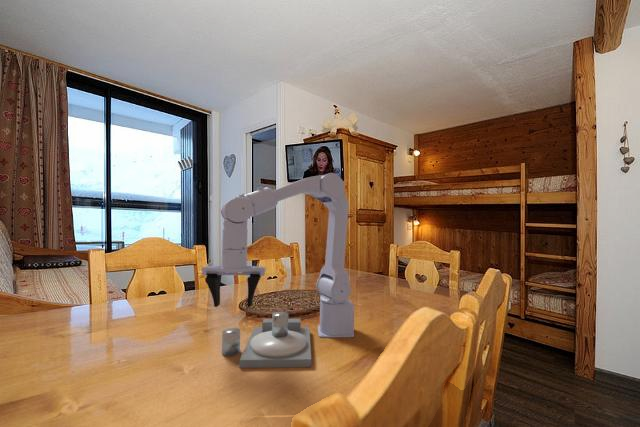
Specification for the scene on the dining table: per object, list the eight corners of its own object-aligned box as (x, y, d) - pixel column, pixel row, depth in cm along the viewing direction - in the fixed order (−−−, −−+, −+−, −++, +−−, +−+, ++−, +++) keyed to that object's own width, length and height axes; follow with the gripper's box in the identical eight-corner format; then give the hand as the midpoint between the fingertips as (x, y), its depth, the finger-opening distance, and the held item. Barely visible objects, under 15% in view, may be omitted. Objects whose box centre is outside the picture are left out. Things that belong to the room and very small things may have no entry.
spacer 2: (287, 330, 75) (287, 311, 75) (288, 336, 71) (289, 316, 71) (271, 331, 74) (271, 311, 74) (272, 338, 70) (272, 317, 70)
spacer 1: (242, 349, 69) (243, 328, 70) (235, 357, 66) (235, 334, 66) (226, 348, 70) (227, 327, 70) (218, 355, 66) (219, 333, 66)
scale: (309, 332, 81) (309, 317, 81) (311, 367, 62) (311, 347, 62) (254, 332, 80) (254, 318, 80) (239, 367, 61) (239, 348, 61)
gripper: (267, 247, 74) (266, 301, 74) (209, 246, 73) (207, 300, 73) (263, 250, 67) (262, 309, 67) (199, 249, 66) (197, 309, 66)
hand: (233, 305), depth 69 cm, fingers open, 7 cm apart
